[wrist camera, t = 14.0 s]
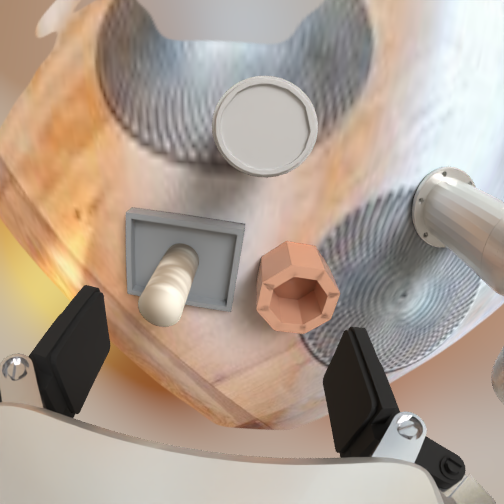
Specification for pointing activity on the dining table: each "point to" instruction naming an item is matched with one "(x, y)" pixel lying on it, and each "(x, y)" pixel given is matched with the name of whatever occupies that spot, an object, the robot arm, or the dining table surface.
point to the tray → (196, 236)
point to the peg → (169, 286)
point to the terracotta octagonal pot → (295, 288)
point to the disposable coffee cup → (264, 126)
